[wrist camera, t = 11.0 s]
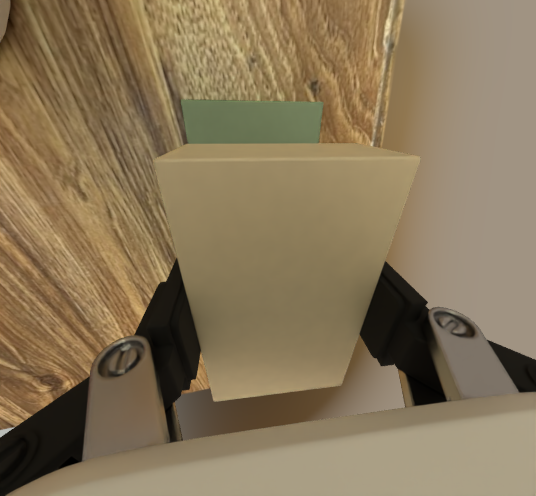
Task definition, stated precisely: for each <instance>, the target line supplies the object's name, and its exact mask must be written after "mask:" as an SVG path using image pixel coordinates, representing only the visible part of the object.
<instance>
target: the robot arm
mask: <svg viewBox="0 0 536 496" xmlns="http://www.w3.org/2000/svg"><path fill="white" fill-rule="evenodd" d="M9 12H10V0H0V42H1V40H2V38H3V36H4V34H5V32H6V27H7V22H8V17H9ZM427 303H428V302H427V301H426V300H425V299H424V298H423V297H422V296H421V295H420V294H419V293H418V292H417V291H416V290H415V289H414V288H413V287H411V286H410V285H409V284H408V283H407V282H406V281H405V280H404V279H403V278H402V277H401V276H400V275H399V274H398V273H397V272H396V271H395V270H394V269H393V268H392V267H391V266H390V265H389V264H388V263H387V262H386V261H385V263H384V265H383V268H382V271H381V274H380V277H379V280H378V282H377V285H376V288H375V291H374V294H373V297H372V300H371V302H370V305H369V308H368V311H367V314H366V317H365V319H364V322H363V325H362V328H361V331H360V336H361V338H362V339H363V341H364V343H365V345H366V346H367V348H368V350H369V352H370V353H371V355H372V356H373V357H374V358H377V360H378V362H379V363H380V365H381V366H388V365H394V364H395V366H396V367H397V368H398V372H399V377H400V382H401V388H402V393H403V398H404V403H405V408H399V409H392V410H385V411H378V412H371V413H364V414H357V415H350V416H344V417H337V418H330V419H323V420H316V421H309V422H302V423H296V424H289V425H282V426H275V427H269V428H263V429H256V430H249V431H243V432H236V433H229V434H222V435H216V436H210V437H202V438H196V439H190V440H184V441H183V438H182V434H181V430H180V424H179V420H178V415H177V411H176V406H175V401H176V400H177V399H178V398H179V397H180V396H181V392H182V390H189V389H190V383H191V380H193V379H196V376H197V371H198V364H199V358H200V352H201V349H200V345H199V341H198V337H197V333H196V329H195V325H194V321H193V318H192V314H191V310H190V306H189V302H188V298H187V294H186V290H185V287H184V283H183V279H182V275H181V271H180V267H179V263H178V259H176V261H175V263H174V265H173V268H172V270H171V272H170V274H169V277H168V279H167V281H166V282H161V283H160V284H159V285H158V287H157V289H156V291H155V293H154V295H153V297H152V299H151V301H150V303H149V306H148V308H147V310H146V312H145V314H144V316H143V318H142V320H141V322H140V324H139V326H138V328H137V330H136V333H135V335H134V336H127V337H124V338H121V339H119V340H117V341H115V342H112V343H111V344H110V345H108V346H107V347H106V348H104V349H103V350H102V351H101V352H100V353H99V354H98V355H97V357H96V359H95V360H94V362H93V363H92V367H91V370H90V377H88V378H87V379H85V380H84V381H82V382H81V383H79V384H78V385H76V386H75V387H74V388H72V389H71V390H69V391H68V392H66V393H65V394H63V395H62V396H60V397H59V398H57V399H56V400H54V401H53V402H52V403H50V404H49V405H47V406H46V407H44V408H43V409H41V410H40V411H38V412H37V413H35V414H34V415H33V416H31V417H30V418H28V419H27V420H25V421H24V422H22V423H21V424H19V425H18V426H16V427H15V428H14V429H12V430H11V431H9V432H8V433H6V434H5V435H3V436H2V437H0V496H536V360H535V359H532V358H530V357H527V356H525V355H522V354H520V353H518V352H515V351H513V350H511V349H508V348H506V347H503V346H501V345H498V344H496V343H493V342H491V341H489V340H486V338H485V337H484V335H483V333H482V332H481V330H480V329H479V327H478V326H477V325H476V324H475V323H474V322H473V321H471V320H470V319H469V318H468V317H466V316H465V315H463V314H461V313H459V312H457V311H454V310H451V309H448V308H443V307H435V308H432V309H430V310H429V309H428V308H427V307H426V304H427Z"/></svg>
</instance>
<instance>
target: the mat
mask: <svg viewBox="0 0 536 496" xmlns="http://www.w3.org/2000/svg"><path fill="white" fill-rule="evenodd" d="M181 106H182V112H183V117H184V123H185V129H186V135H187V141H188V144H288V143H319V135H320V127H321V118H322V110H323V102H290V101H235V100H181Z"/></svg>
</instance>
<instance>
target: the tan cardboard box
mask: <svg viewBox="0 0 536 496" xmlns="http://www.w3.org/2000/svg"><path fill="white" fill-rule="evenodd" d="M420 160H421V157H419V156H416V155H412V154H407V153H402V152H397V151H392V150H387V149H382V148H377V147H372V146H367V145H362V144H357V143H288V144H185V145H183V146H181V147H179V148H177V149H175V150H173V151H171V152H168V153H166V154H164V155H162V156H160V157H158V158H156V159H154V160H153V165H154V169H155V173H156V177H157V181H158V185H159V189H160V193H161V197H162V200H163V204H164V208H165V212H166V216H167V220H168V224H169V228H170V232H171V236H172V240H173V243H174V247H175V251H176V255H177V259H178V263H179V267H180V271H181V275H182V279H183V283H184V287H185V290H186V294H187V298H188V302H189V306H190V310H191V314H192V318H193V321H194V325H195V329H196V333H197V337H198V341H199V345H200V349H201V353H202V357H203V361H204V365H205V369H206V373H207V377H208V380H209V384H210V388H211V392H212V396H213V400H214V401H223V400H231V399H239V398H247V397H254V396H262V395H270V394H278V393H286V392H293V391H301V390H308V389H317V388H324V387H332V386H340V385H342V382H343V379H344V376H345V373H346V371H347V367H348V365H349V362H350V359H351V356H352V353H353V351H354V348H355V345H356V342H357V339H358V336H359V334H360V331H361V328H362V325H363V322H364V319H365V317H366V314H367V311H368V308H369V305H370V302H371V300H372V297H373V294H374V291H375V288H376V285H377V282H378V280H379V277H380V274H381V271H382V268H383V265H384V263H385V260H386V257H387V254H388V251H389V248H390V245H391V243H392V240H393V237H394V234H395V231H396V228H397V226H398V222H399V220H400V217H401V214H402V211H403V209H404V205H405V203H406V200H407V197H408V194H409V191H410V189H411V186H412V183H413V180H414V177H415V174H416V171H417V169H418V166H419V163H420Z"/></svg>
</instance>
